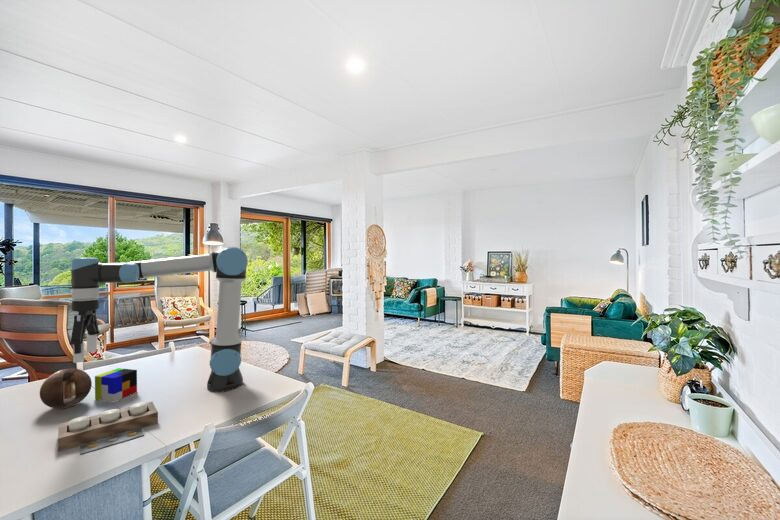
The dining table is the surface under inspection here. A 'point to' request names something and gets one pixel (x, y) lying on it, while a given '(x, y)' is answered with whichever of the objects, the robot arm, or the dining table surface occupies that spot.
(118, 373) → the puzzle toy
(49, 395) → the wooden sphere
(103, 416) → the middle button
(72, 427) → the left button
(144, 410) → the right button
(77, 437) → the button board
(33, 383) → the dining table surface
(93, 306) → the robot arm
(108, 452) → the dining table surface
